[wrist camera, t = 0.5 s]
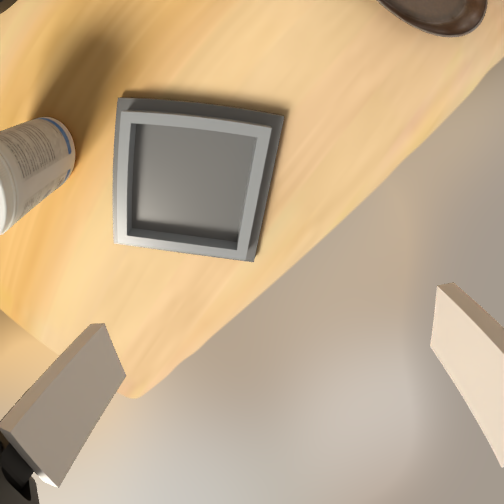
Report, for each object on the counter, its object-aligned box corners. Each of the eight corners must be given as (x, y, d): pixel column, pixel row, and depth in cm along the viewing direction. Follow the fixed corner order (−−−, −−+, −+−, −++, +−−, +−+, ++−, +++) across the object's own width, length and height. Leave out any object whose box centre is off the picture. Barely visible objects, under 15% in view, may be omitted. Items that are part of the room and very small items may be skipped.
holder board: (121, 97, 29) (111, 98, 26) (282, 115, 31) (287, 118, 29) (116, 239, 38) (108, 251, 35) (253, 257, 40) (254, 271, 37)
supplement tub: (21, 117, 28) (-59, 146, 16) (80, 115, 29) (1, 142, 17) (23, 186, 33) (-45, 237, 20) (78, 191, 34) (13, 250, 21)
